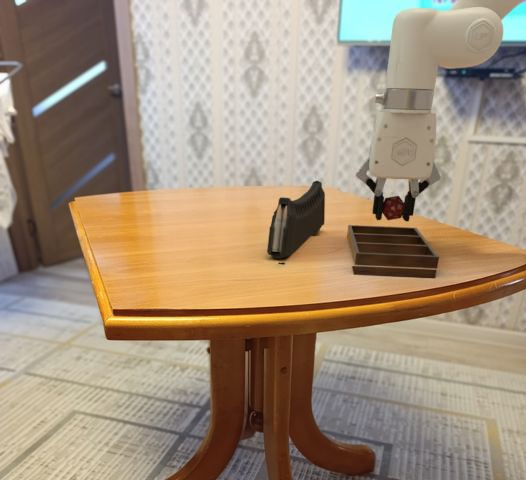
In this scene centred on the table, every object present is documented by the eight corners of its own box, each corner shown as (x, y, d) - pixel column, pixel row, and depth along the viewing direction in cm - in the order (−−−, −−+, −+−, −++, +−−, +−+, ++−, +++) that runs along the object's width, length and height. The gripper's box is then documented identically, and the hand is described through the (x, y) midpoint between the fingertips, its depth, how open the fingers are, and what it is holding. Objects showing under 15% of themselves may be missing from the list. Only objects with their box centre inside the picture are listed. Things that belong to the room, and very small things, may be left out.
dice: (374, 219, 89) (377, 195, 87) (391, 216, 91) (394, 193, 90) (391, 223, 86) (394, 199, 84) (408, 220, 89) (412, 196, 87)
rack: (413, 245, 100) (416, 227, 99) (435, 278, 83) (439, 256, 81) (346, 243, 101) (348, 224, 100) (353, 274, 84) (356, 253, 82)
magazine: (314, 184, 109) (277, 154, 81) (329, 185, 108) (297, 155, 80) (304, 264, 112) (264, 262, 84) (318, 266, 111) (283, 265, 83)
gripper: (356, 101, 78) (344, 222, 86) (468, 104, 77) (445, 226, 85) (352, 100, 84) (342, 212, 93) (455, 103, 83) (435, 216, 92)
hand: (391, 218), depth 89 cm, fingers closed on dice, 4 cm apart
